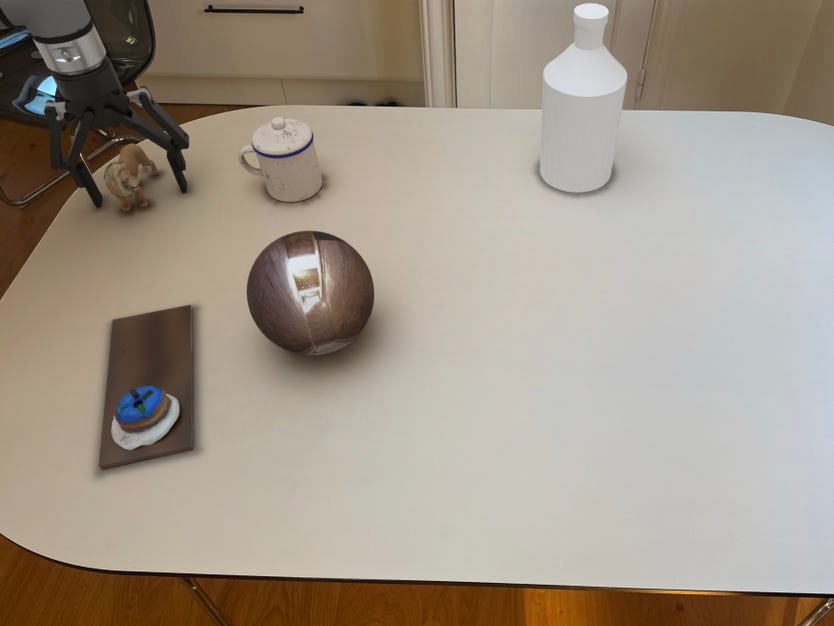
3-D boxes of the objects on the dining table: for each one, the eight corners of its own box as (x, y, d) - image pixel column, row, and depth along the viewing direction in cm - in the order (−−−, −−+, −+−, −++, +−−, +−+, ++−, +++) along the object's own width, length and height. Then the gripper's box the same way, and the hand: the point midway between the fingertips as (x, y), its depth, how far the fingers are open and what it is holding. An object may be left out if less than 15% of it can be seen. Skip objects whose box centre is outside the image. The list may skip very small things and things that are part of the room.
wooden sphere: (293, 399, 85) (261, 314, 73) (247, 323, 93) (211, 235, 81) (402, 345, 90) (388, 257, 78) (349, 278, 98) (329, 189, 86)
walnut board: (101, 469, 79) (98, 466, 78) (115, 323, 93) (112, 319, 92) (193, 449, 80) (191, 445, 80) (192, 308, 95) (190, 304, 94)
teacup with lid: (327, 168, 114) (313, 102, 105) (320, 203, 108) (303, 137, 99) (254, 169, 114) (233, 104, 105) (242, 205, 108) (219, 138, 99)
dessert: (159, 376, 85) (154, 369, 80) (193, 420, 86) (190, 416, 80) (97, 417, 82) (88, 412, 77) (133, 461, 83) (126, 460, 77)
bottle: (527, 183, 110) (533, 23, 91) (552, 142, 117) (563, -15, 98) (600, 200, 107) (623, 38, 88) (621, 158, 114) (646, -1, 95)
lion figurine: (155, 220, 107) (131, 170, 100) (119, 226, 106) (92, 176, 99) (160, 164, 116) (139, 115, 109) (127, 169, 115) (103, 120, 108)
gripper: (-25, 90, 90) (57, 223, 106) (172, 62, 93) (222, 195, 110) (-15, 62, 94) (62, 194, 111) (173, 36, 98) (220, 167, 114)
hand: (142, 194), depth 110 cm, fingers open, 12 cm apart
